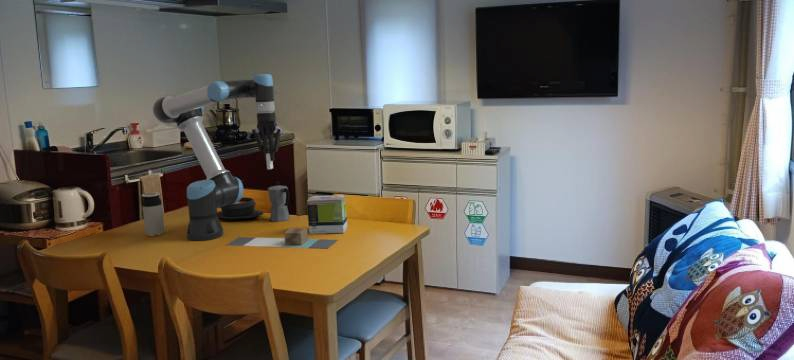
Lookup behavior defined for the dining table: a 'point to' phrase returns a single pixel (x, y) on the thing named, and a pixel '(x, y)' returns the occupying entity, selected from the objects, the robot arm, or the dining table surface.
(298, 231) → the walnut block
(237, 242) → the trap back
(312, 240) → the pad
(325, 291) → the dining table surface
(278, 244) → the tile
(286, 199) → the coffeepot
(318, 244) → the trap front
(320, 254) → the dining table surface
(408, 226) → the dining table surface
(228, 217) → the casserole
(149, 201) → the travel mug
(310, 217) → the tea box
